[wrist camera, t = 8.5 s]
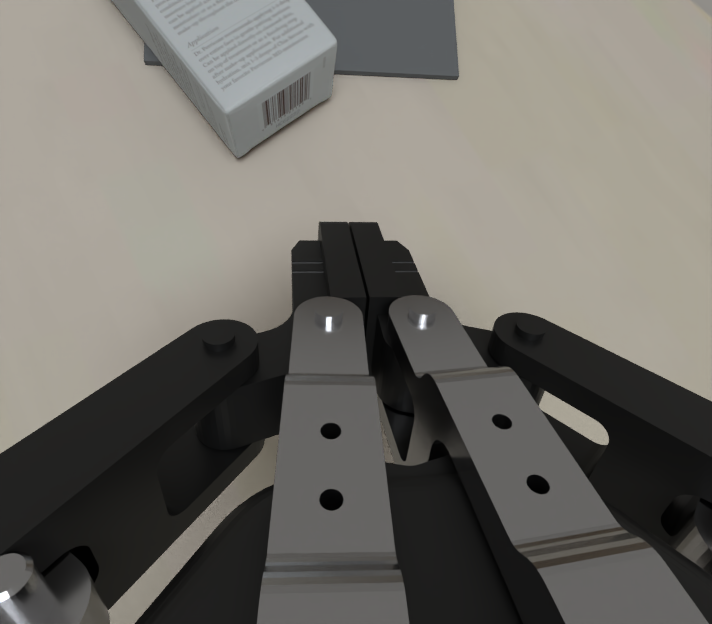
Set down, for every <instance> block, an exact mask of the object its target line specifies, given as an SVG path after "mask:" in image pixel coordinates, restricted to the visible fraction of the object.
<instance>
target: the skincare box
mask: <svg viewBox="0 0 712 624" xmlns="http://www.w3.org/2000/svg"><path fill="white" fill-rule="evenodd" d="M112 2H113V3H114V4H115V5H116V7H117V8H118V9H119V10H120V12H121V13H122V14H123V16H124V17H125V18H126V19H127V21H128V22H129V23H130V24H131V26H132V27H133V28H134V29H135V31H136V32H137V33H138V34H139V36H140V37H141V38H142V39H143V41H144V42H145V43H146V44H147V46H148V47H149V48H150V49H151V51H152V52H153V53H154V54H155V56H156V57H157V58H158V59H159V61H160V62H161V63H162V64H163V66H164V67H165V68H166V70H167V71H168V72H169V73H170V74H171V76H172V77H173V78H174V80H175V81H176V82H177V83H178V85H179V86H180V87H181V88H182V90H183V91H184V92H185V93H186V95H187V96H188V97H189V98H190V100H191V101H192V102H193V103H194V105H195V106H196V107H197V109H198V110H199V111H200V112H201V114H202V115H203V116H204V117H205V119H206V120H207V121H208V122H209V124H210V125H211V126H212V127H213V129H214V130H215V131H216V133H217V134H218V135H219V136H220V138H221V139H222V140H223V141H224V143H225V144H226V145H227V146H228V148H229V149H230V150H231V151H232V153H233V154H234V155H235V156H236V157H238V158H239V157H241V156H243V155H244V154H246V153H247V152H248V151H249V150H250V149H252V148H253V147H254V146H256V145H257V144H259V143H260V142H262V141H263V140H265V139H266V138H268V137H269V136H271V135H272V134H274V133H275V132H277V131H278V130H280V129H281V128H282V127H284V126H286V125H287V124H289V123H290V122H292V121H293V120H295V119H296V118H298V117H299V116H301V115H302V114H304V113H305V112H307V111H308V110H310V109H311V108H313V107H314V106H316V105H317V104H319V103H321V102H323V101H325V100H326V99H328V98H330V97H331V95H332V86H333V76H334V68H335V61H336V52H337V40H336V38H335V37H334V35H333V34H332V33H331V31H330V30H329V29H328V28H327V26H326V25H325V24H324V23H323V22H322V20H321V19H320V18H319V17H318V15H317V14H316V13H315V12H314V11H313V9H312V8H311V7H310V6H309V4H308V3H307V2H306V1H305V0H112Z"/></svg>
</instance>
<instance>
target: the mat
mask: <svg viewBox="0 0 712 624" xmlns="http://www.w3.org/2000/svg"><path fill="white" fill-rule="evenodd" d="M305 1H306V2H307V3H308V4H309V6H310V7H311V8H312V9H313V11H314V12H315V13H316V14H317V15H318V17H319V18H320V19H321V20H322V22H323V23H324V24H325V25H326V26H327V28H328V29H329V30H330V31H331V33H332V34H333V35H334V37H335V38H336V40H337V52H336V61H335V68H334V74H349V75H369V76H390V77H411V78H432V79H452V80H457V79H458V77H459V71H458V57H457V42H456V28H455V14H454V0H305ZM144 62H145V64H146V65H163V64H162V63H161V62H160V61H159V59H158V58H157V57H156V56H155V54H154V53H153V52H152V51H151V49H150V48H149V47H148V46H147V44H146V43H144Z"/></svg>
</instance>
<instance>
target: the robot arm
mask: <svg viewBox="0 0 712 624" xmlns="http://www.w3.org/2000/svg"><path fill="white" fill-rule="evenodd" d="M291 253H292V311H293V312H292V315H291V316H290V318H289V319H288V320H287V321H286V322H285V323H283V324H282V325H280V326H278V327H277V328H274V329H272V330H269V331H265V332H261V333H257V334H256V332H255V331H254V330H253V329H252V328H251V327H250V326H249V325H247V324H245V323H242V322H239V321H235V320H213V321H209V322H205V323H202V324H200V325H197V326H196V327H194V328H192V329H191V330H189V331H187V332H186V333H184V334H183V335H181V336H180V337H178V338H177V339H175V340H174V341H172V342H171V343H169V344H168V345H166V346H165V347H163V348H161V349H160V350H158V351H157V352H155V353H154V354H152V355H151V356H149V357H148V358H146V359H145V360H143V361H142V362H140V363H139V364H137V365H135V366H134V367H132V368H131V369H129V370H128V371H126V372H125V373H123V374H122V375H120V376H119V377H117V378H116V379H114V380H113V381H111V382H109V383H108V384H106V385H105V386H103V387H102V388H100V389H99V390H97V391H96V392H94V393H93V394H91V395H90V396H88V397H87V398H85V399H84V400H82V401H80V402H79V403H77V404H76V405H74V406H73V407H71V408H70V409H68V410H67V411H65V412H64V413H62V414H61V415H59V416H58V417H56V418H54V419H53V420H51V421H50V422H48V423H47V424H45V425H44V426H42V427H41V428H39V429H38V430H36V431H35V432H33V433H32V434H30V435H28V436H27V437H25V438H24V439H22V440H21V441H19V442H18V443H16V444H15V445H13V446H12V447H10V448H9V449H7V450H6V451H4V452H2V453H1V454H0V624H110V616H109V613H108V610H109V609H110V608H111V607H112V606H113V605H114V604H115V603H116V602H117V601H118V600H119V599H120V598H121V596H122V595H123V594H124V593H125V592H126V591H127V590H128V589H129V588H130V587H131V586H132V585H133V584H134V583H135V582H136V581H137V580H138V579H139V578H140V577H141V576H142V575H143V574H144V573H145V572H146V571H147V569H148V568H149V567H150V566H151V565H152V564H153V563H154V562H155V561H156V560H157V559H158V558H159V557H160V556H161V555H162V554H163V553H164V552H165V551H166V550H167V549H168V548H169V547H170V546H171V545H172V544H173V542H174V541H175V540H176V539H177V538H178V537H179V536H180V535H181V534H182V533H183V532H184V531H185V530H186V529H187V528H188V527H189V526H190V525H191V524H192V523H193V522H194V521H195V520H196V519H197V518H198V516H199V515H200V514H201V513H202V512H203V511H204V510H205V509H206V508H207V507H208V506H209V505H210V504H211V503H212V502H213V501H214V500H215V499H216V498H217V497H218V496H219V495H220V494H221V493H222V492H223V491H224V489H225V488H226V487H227V486H228V485H229V484H230V483H231V482H232V481H233V480H234V479H235V478H236V477H237V476H238V475H239V474H240V473H241V472H242V471H243V470H244V469H245V468H246V467H247V466H248V465H249V464H250V462H251V461H252V460H253V459H254V458H255V457H256V456H257V455H258V454H259V453H260V451H261V450H262V448H263V445H264V440H265V439H266V438H269V437H272V436H275V435H278V434H279V441H278V451H277V461H276V471H275V480H274V485H272V486H270V487H267V488H265V489H263V490H262V491H260V492H258V493H256V494H255V495H253V496H251V497H250V498H249V499H247V500H246V501H245V502H243V503H242V504H240V505H239V506H238V507H237V508H235V509H234V510H233V511H232V512H231V513H230V514H229V515H228V516H227V517H226V518H225V519H224V520H223V521H222V522H221V523H220V524H219V525H218V526H217V528H216V529H215V530H214V531H213V532H212V533H211V535H210V536H209V537H208V538H207V539H206V541H205V542H204V543H203V544H202V545H201V546H200V548H199V549H198V550H197V551H196V552H195V553H194V555H193V556H192V557H191V558H190V559H189V561H188V562H187V563H186V564H185V565H184V566H183V568H182V569H181V570H180V571H179V572H178V573H177V575H176V576H175V577H174V578H173V579H172V580H171V582H170V583H169V584H168V585H167V586H166V588H165V589H164V590H163V591H162V592H161V593H160V595H159V596H158V597H157V598H156V599H155V600H154V602H153V603H152V604H151V605H150V606H149V608H148V609H147V610H146V611H145V612H144V613H143V615H142V616H141V617H140V618H139V619H138V620H137V622H136V623H135V624H712V402H711V401H709V400H707V399H705V398H703V397H701V396H699V395H697V394H695V393H693V392H691V391H689V390H687V389H685V388H683V387H681V386H679V385H677V384H675V383H673V382H671V381H669V380H667V379H665V378H663V377H661V376H659V375H657V374H655V373H653V372H651V371H649V370H647V369H644V368H642V367H640V366H638V365H636V364H634V363H632V362H630V361H628V360H626V359H624V358H622V357H620V356H618V355H616V354H614V353H612V352H610V351H608V350H606V349H604V348H602V347H600V346H598V345H596V344H594V343H592V342H590V341H588V340H586V339H584V338H582V337H580V336H578V335H576V334H574V333H572V332H569V331H567V330H565V329H563V328H561V327H559V326H557V325H555V324H553V323H551V322H549V321H547V320H545V319H543V318H541V317H538V316H535V315H531V314H527V313H517V312H516V313H507V314H504V315H502V316H500V317H498V318H497V319H496V321H495V323H494V327H493V330H492V331H490V330H484V329H479V328H474V327H468V326H464V325H461V323H460V321H459V320H458V318H457V317H456V315H455V313H454V312H453V310H452V309H451V308H450V307H449V306H448V305H447V304H445V303H444V302H442V301H440V300H437V299H435V298H432V297H429V295H428V293H427V290H426V288H425V286H424V283H423V281H422V279H421V277H420V274H419V272H418V270H417V268H416V265H415V263H414V261H413V259H412V256H411V254H410V252H409V250H408V249H407V248H405V247H404V246H403V245H402V244H400V243H399V242H398V241H384V239H383V237H382V234H381V231H380V228H379V226H378V223H377V222H349V224H348V223H347V222H319V230H318V241H299V242H298V243H297V244H296V245H295V247H294V248H293V249H292V250H291ZM544 391H547V392H549V393H550V394H552V395H554V396H556V397H557V398H559V399H561V400H562V401H564V402H566V403H568V404H569V405H571V406H573V407H574V408H576V409H578V410H580V411H581V412H583V413H585V414H586V415H588V416H590V417H592V418H593V419H595V420H597V421H598V422H599V423H600V424H602V425H603V427H604V428H605V429H606V431H607V433H608V436H609V443H608V445H600V444H597V443H595V442H593V441H591V440H589V439H588V438H586V437H584V436H583V435H581V434H579V433H578V432H576V431H575V430H573V429H571V428H570V427H568V426H566V425H565V424H563V423H561V422H560V421H558V420H556V419H555V418H553V417H552V416H550V415H548V414H547V413H545V412H543V411H542V410H541V409H540V408H539V403H540V401H541V399H542V396H543V394H544ZM377 394H378V398H377ZM380 419H381V422H382V425H383V429H384V432H385V435H386V438H387V441H388V444H389V448H390V451H391V454H392V457H393V460H394V464H393V463H387V462H385V459H384V450H383V442H382V433H381V425H380Z"/></svg>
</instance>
